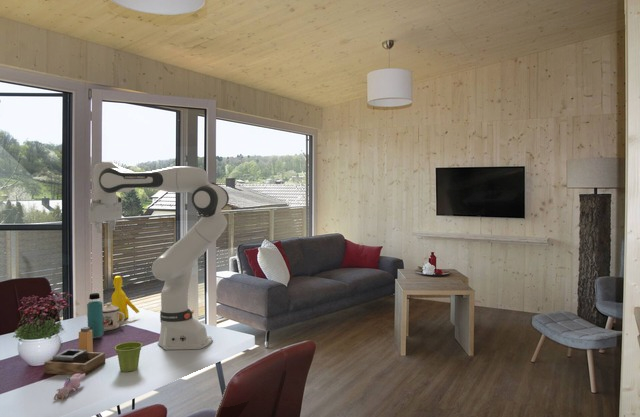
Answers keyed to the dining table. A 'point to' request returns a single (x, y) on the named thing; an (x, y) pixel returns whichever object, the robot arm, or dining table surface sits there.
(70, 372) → the crate
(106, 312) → the teacup with lid
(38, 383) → the dining table surface
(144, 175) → the robot arm
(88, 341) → the orange square peg
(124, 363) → the plant pot
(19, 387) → the dining table surface
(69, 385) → the rabbit figure
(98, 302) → the beverage bottle
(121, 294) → the figure statuette
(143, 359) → the dining table surface
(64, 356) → the socket
